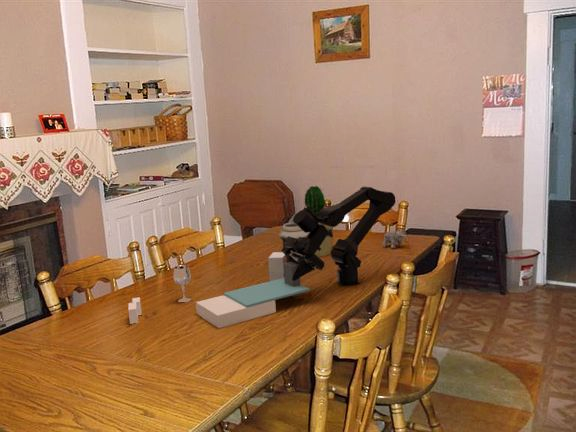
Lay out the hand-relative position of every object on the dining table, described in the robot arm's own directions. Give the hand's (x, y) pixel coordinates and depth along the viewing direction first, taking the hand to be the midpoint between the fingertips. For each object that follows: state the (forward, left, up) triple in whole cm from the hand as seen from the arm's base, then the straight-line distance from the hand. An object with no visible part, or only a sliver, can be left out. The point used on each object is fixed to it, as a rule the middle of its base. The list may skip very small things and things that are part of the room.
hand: (288, 278), depth 195 cm
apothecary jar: (-10, -34, -7) cm, 37 cm away
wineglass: (+35, -12, -7) cm, 37 cm away
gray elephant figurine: (-59, -48, -7) cm, 76 cm away
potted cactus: (-24, -53, -7) cm, 59 cm away
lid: (+8, +3, -6) cm, 10 cm away
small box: (0, -19, -7) cm, 21 cm away
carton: (+19, +7, -7) cm, 22 cm away
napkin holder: (+50, -2, -8) cm, 51 cm away
